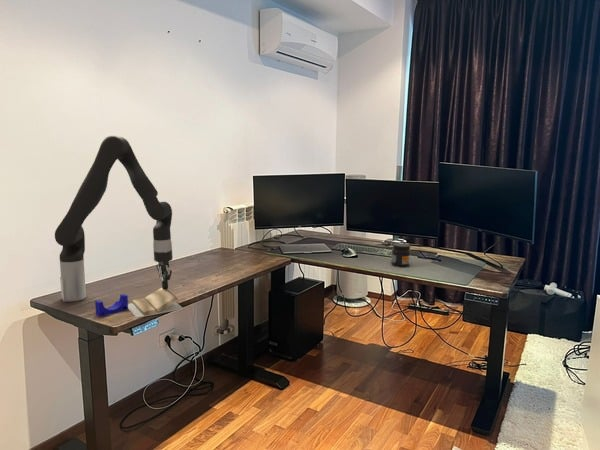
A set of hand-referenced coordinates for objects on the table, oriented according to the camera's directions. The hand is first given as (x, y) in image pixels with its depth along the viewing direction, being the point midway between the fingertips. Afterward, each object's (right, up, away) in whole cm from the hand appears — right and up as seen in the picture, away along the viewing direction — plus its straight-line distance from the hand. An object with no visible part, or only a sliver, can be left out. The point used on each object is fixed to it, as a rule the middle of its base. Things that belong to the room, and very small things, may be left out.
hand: (165, 288), depth 200 cm
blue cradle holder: (-18, -8, -12) cm, 23 cm away
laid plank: (-6, -7, -9) cm, 13 cm away
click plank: (0, -4, -5) cm, 6 cm away
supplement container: (+116, +4, +69) cm, 135 cm away
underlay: (-3, -7, -6) cm, 10 cm away
